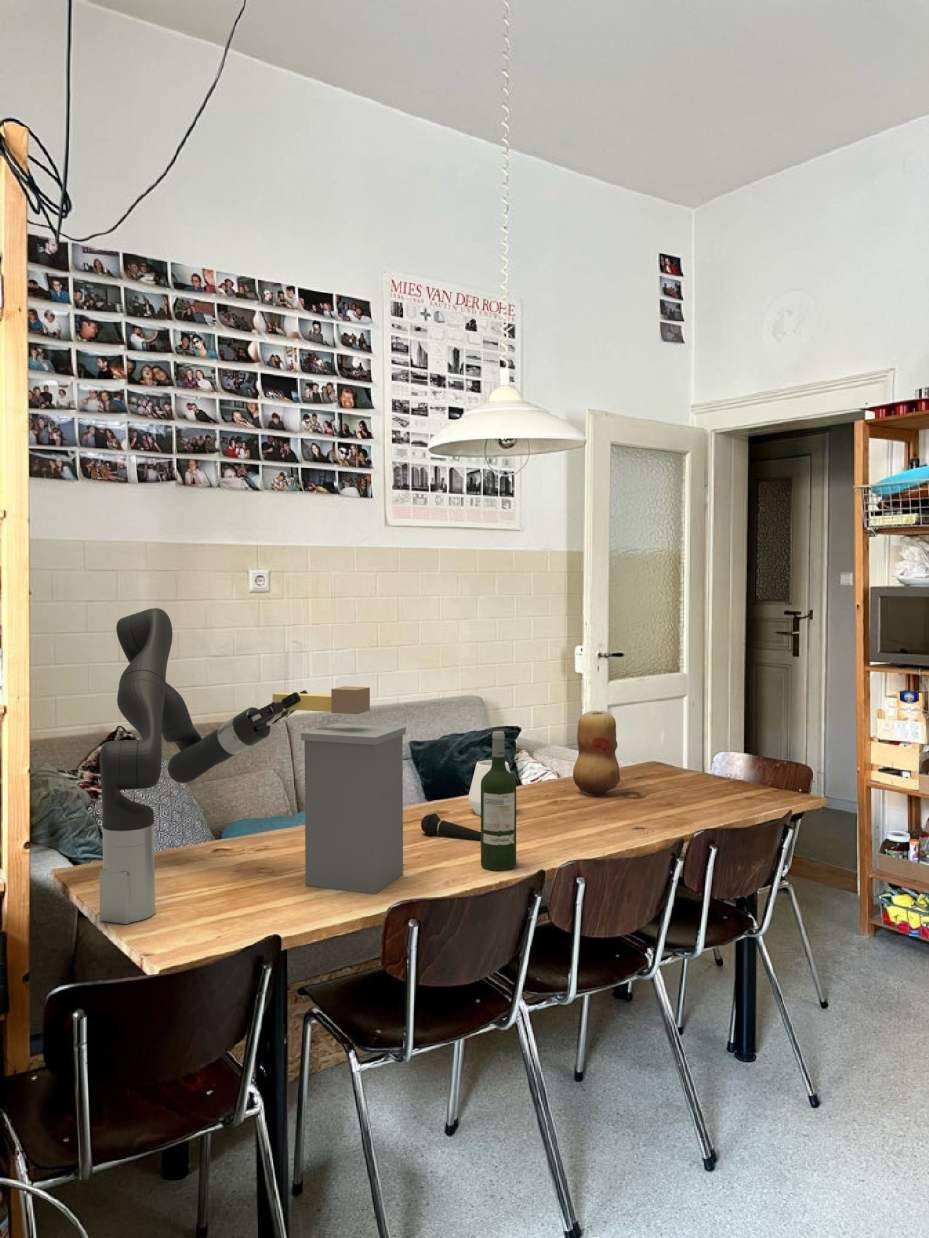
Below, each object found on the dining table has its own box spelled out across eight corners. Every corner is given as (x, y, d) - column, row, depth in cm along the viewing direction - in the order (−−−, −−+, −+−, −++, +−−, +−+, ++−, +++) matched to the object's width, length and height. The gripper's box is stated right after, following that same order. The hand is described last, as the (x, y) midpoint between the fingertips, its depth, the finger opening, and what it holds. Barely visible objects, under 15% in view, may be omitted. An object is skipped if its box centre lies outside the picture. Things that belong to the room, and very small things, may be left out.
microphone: (495, 853, 233) (423, 834, 241) (501, 829, 234) (429, 812, 242) (488, 851, 228) (415, 832, 236) (494, 827, 229) (420, 809, 237)
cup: (461, 817, 256) (461, 765, 256) (475, 806, 269) (475, 757, 269) (510, 820, 253) (510, 768, 252) (521, 809, 265) (521, 759, 265)
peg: (269, 709, 203) (269, 686, 203) (283, 706, 209) (283, 683, 209) (357, 714, 196) (357, 690, 196) (369, 710, 202) (369, 687, 202)
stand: (302, 886, 197) (301, 733, 196) (336, 866, 211) (335, 723, 210) (376, 895, 191) (375, 737, 190) (406, 874, 205) (405, 727, 204)
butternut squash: (578, 799, 277) (578, 714, 276) (569, 790, 291) (569, 708, 290) (624, 798, 278) (624, 714, 278) (613, 789, 292) (614, 708, 291)
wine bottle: (486, 872, 206) (486, 735, 205) (476, 862, 214) (476, 730, 213) (521, 869, 208) (521, 733, 207) (509, 859, 216) (509, 728, 215)
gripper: (217, 720, 203) (278, 682, 198) (253, 712, 216) (311, 676, 211) (232, 751, 202) (293, 714, 197) (268, 741, 215) (326, 706, 210)
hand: (302, 695), depth 204 cm, fingers closed on peg, 3 cm apart
